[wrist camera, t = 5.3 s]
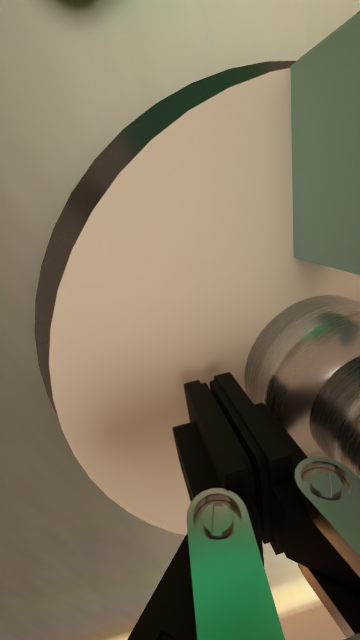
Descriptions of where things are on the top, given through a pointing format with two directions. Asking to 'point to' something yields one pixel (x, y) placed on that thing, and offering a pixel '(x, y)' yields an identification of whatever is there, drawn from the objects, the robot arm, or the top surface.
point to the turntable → (204, 264)
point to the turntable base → (103, 177)
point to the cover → (312, 376)
